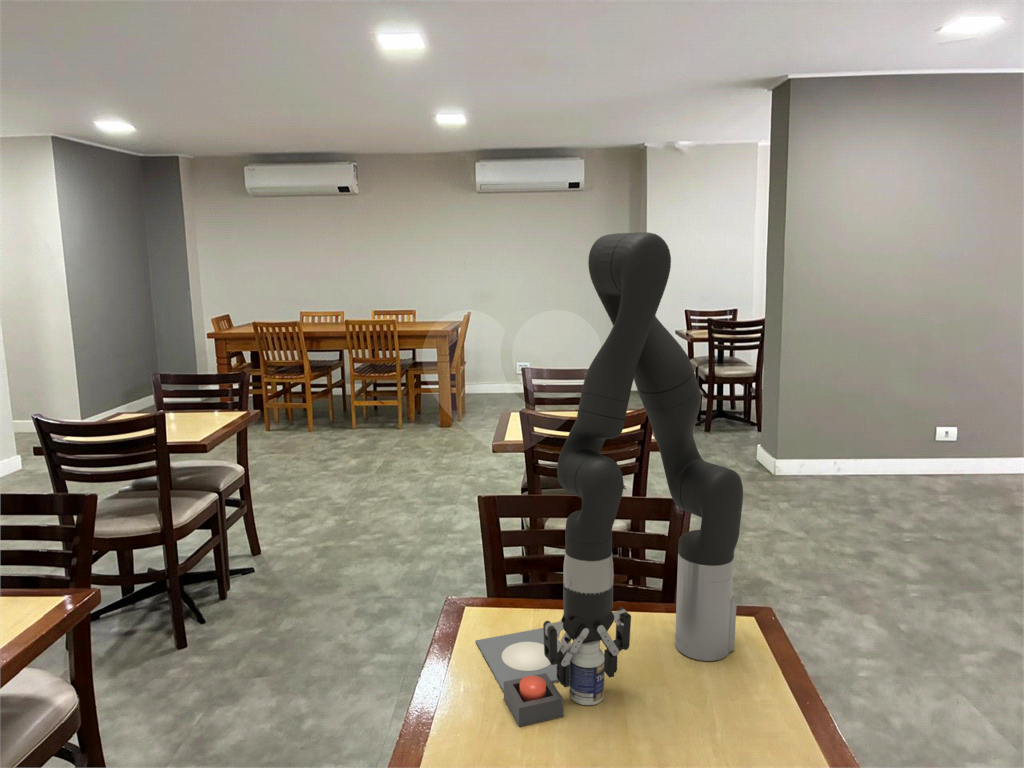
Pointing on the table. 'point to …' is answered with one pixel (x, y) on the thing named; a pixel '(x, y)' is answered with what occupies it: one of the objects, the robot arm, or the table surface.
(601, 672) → the pill bottle
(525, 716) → the button housing
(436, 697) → the table surface
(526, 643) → the grey mat
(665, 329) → the robot arm
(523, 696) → the button
